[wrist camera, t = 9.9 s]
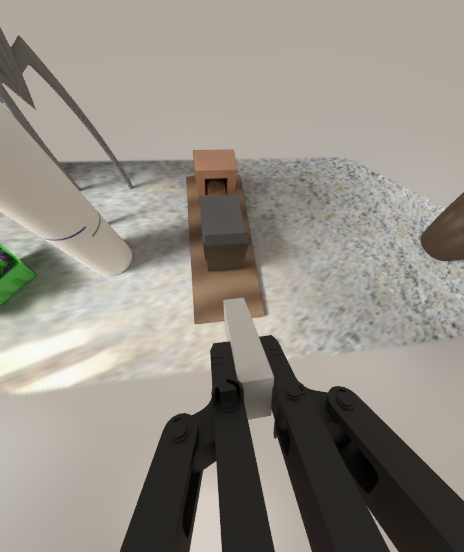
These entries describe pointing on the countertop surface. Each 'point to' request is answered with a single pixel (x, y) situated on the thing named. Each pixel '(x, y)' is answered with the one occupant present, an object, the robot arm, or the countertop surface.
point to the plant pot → (446, 233)
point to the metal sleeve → (220, 216)
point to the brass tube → (224, 240)
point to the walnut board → (225, 282)
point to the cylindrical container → (54, 203)
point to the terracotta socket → (215, 169)
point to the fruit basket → (12, 274)
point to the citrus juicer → (8, 69)
